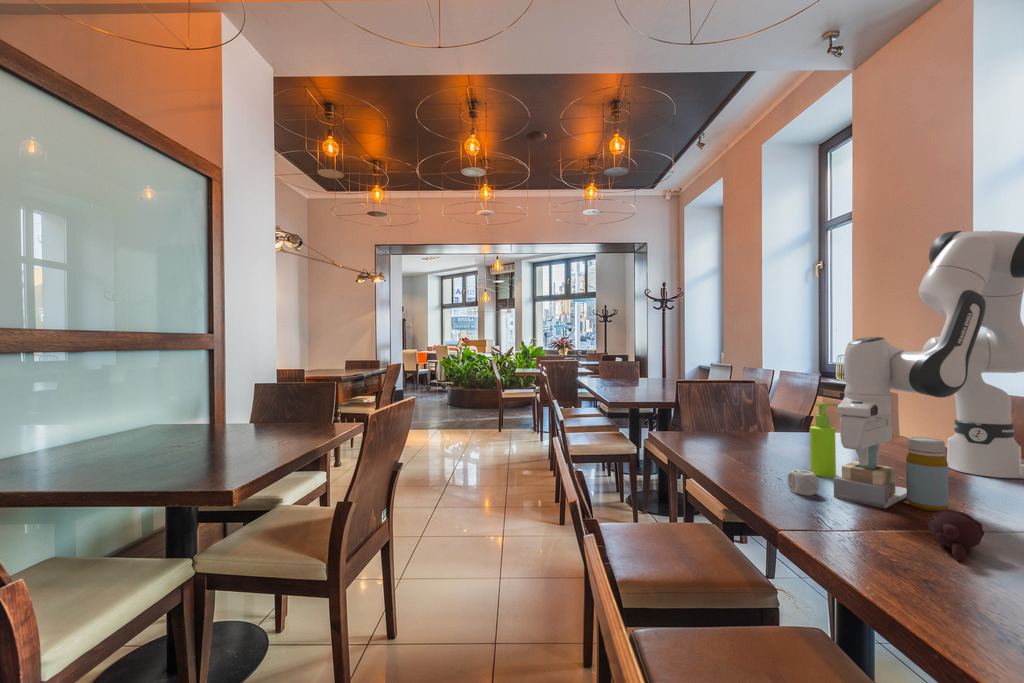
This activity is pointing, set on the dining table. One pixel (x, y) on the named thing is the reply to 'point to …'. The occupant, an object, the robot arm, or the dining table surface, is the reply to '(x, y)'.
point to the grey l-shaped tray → (867, 492)
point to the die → (803, 482)
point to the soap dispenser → (823, 444)
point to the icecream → (956, 531)
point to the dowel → (871, 459)
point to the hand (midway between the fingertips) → (868, 463)
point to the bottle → (927, 474)
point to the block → (871, 475)
